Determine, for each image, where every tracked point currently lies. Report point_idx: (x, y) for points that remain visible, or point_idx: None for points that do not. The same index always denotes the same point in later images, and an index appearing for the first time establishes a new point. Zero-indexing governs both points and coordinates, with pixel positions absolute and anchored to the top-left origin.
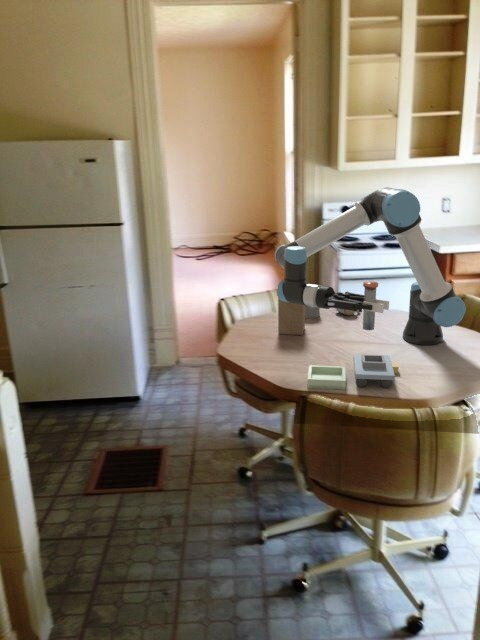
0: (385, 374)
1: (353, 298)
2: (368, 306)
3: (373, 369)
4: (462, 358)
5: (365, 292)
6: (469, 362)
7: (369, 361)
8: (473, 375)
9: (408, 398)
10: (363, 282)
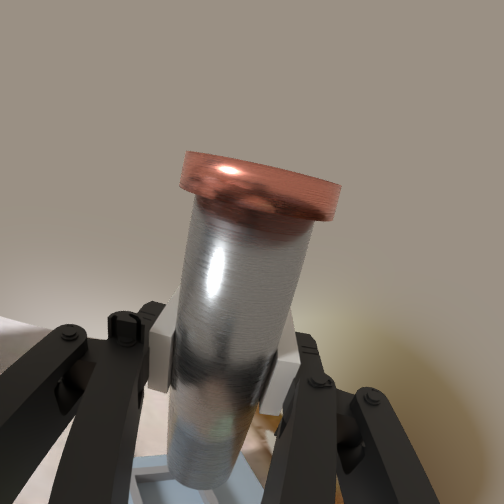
0: (241, 463)
1: (115, 490)
2: (314, 350)
3: (219, 497)
4: (14, 334)
5: (294, 278)
6: (33, 330)
7: None
8: (92, 338)
9: (253, 433)
10: (287, 170)
